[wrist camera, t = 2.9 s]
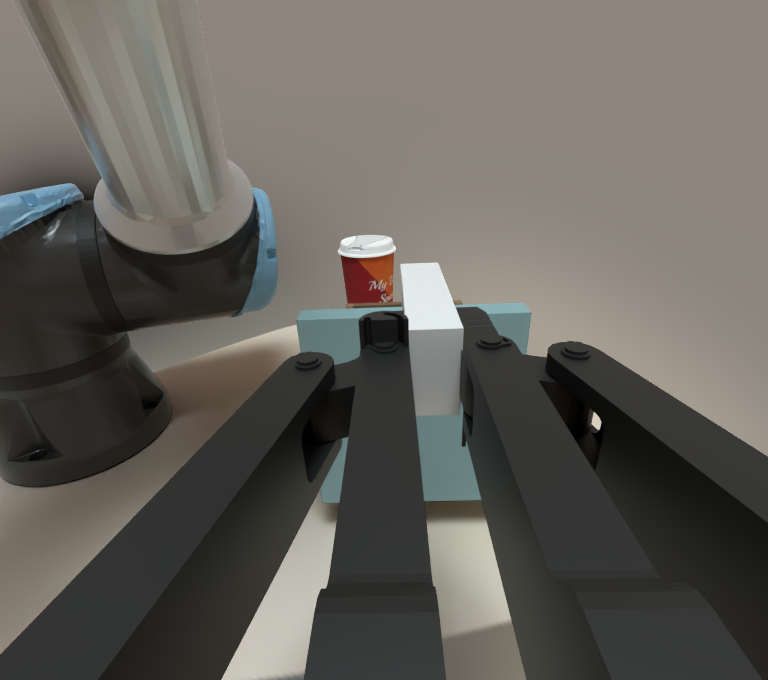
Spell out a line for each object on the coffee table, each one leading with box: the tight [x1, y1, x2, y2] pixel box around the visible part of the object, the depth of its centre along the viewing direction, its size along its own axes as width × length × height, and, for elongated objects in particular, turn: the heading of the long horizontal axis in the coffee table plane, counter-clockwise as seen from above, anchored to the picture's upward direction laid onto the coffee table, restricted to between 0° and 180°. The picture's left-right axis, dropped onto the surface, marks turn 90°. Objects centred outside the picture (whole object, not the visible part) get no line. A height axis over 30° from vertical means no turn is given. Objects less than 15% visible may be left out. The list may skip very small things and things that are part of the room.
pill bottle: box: [338, 235, 396, 304], centre depth 58 cm, size 8×8×14 cm
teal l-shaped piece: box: [296, 303, 531, 503], centre depth 34 cm, size 18×13×14 cm
